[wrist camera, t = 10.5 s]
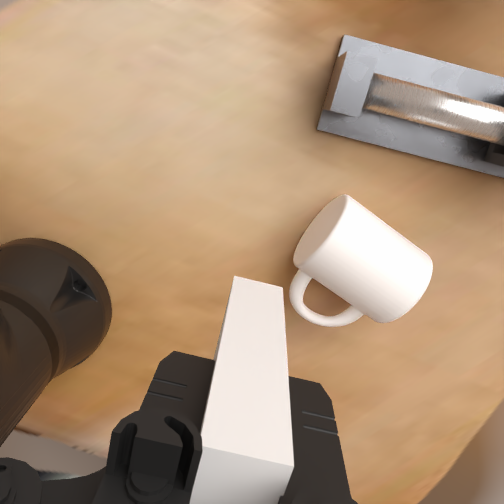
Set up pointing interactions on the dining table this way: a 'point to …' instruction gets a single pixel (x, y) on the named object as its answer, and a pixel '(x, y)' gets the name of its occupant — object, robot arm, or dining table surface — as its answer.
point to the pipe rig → (414, 104)
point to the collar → (495, 154)
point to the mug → (358, 265)
